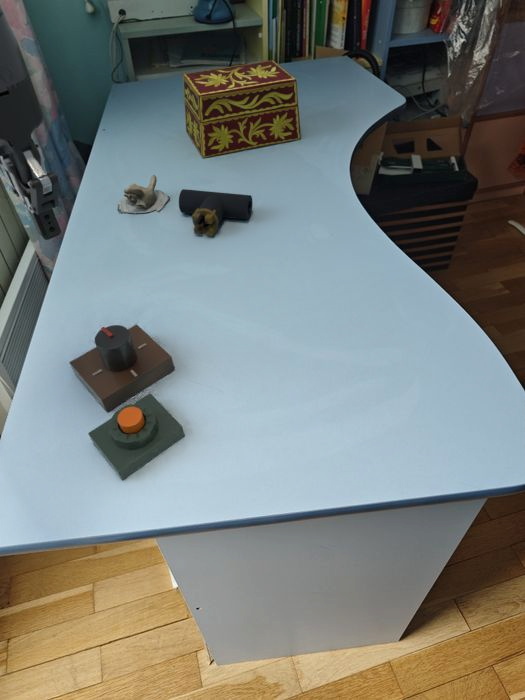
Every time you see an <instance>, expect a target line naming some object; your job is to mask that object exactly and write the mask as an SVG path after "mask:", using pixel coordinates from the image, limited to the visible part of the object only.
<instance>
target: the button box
mask: <svg viewBox="0 0 525 700" xmlns="http://www.w3.org/2000/svg"><path fill="white" fill-rule="evenodd" d="M127 407H137V408H139V409H140V410H141V411H142V414H143V417H144V420H145V424H144V426H143V428H142V429H141V430H140V431H138V432H136V433H133V434H127V433H125V432H123V431H122V429H121V427H120V425H119V423H118V415H119V413H120V412H121V411H122V410H123V409H125V408H127ZM87 435H88V436H89V438H90V440H91V441H92V444H93V445H94V446H95V447H96V449H97V450H98V451H99V452H100V454H101V455H102V457H104V459H105V461H106V462H107V463H108V464H109V466H110V467H111V468H112V469H113V471H114V472H115V473H116V475H117V476H118V477H119V478H120V480H121V481H124V480H125V479H127V478H128V477H130V476H131V475H132V474H134V473H135V472H137V471H138V470H139V469H141V468H142V467H143V466H145V465H146V464H147V463H149V462H151V461H152V460H153V459H155V458H156V457H157V456H159V455H160V454H161V453H164V451H166V450H167V449H169V448H170V447H171V446H173V445H174V444H175V443H177V442H178V441H180V440H181V439H183V438H184V437H185V436H186V434H185V431H184V428H183V426H182V425H181V423H179V421H178V420H177V419H176V418H175V417H174V416H173V415H172V414H171V412H169V411H168V410H167V408H165V407H164V405H163V404H162V403H160V402H159V400H158V399H157V398H156V397H155V396H154V395H153V394H152V393H150V392H149V393H148V394H147V395H145V396H144V397H142V398H141V399H140V398H139V400H137V401H136V402H135V403H132V404H127V405H124V406H123V407H121V408H119V409H118V410H117V411H115V412H114V413H113V415H112V417H111V418H109V419H108V420H106V421H105V422H103V423H102V424H100V425H98V426H97V427H95V428H94V429H92V430H91V431H89V432H88V434H87Z"/></svg>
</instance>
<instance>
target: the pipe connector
mask: <svg viewBox="0 0 525 700" xmlns="http://www.w3.org/2000/svg"><path fill="white" fill-rule="evenodd" d="M253 205H254V204H253V197H252V195H251V194H249V195H248V194H240V193H230V192H219V191H208V190H196V189H184V188H182V189H181V190H180V192H179V196H178V208H179V211H180V213H182V214H188V215H192V216H191V219H192V224H193V234H194V235H202V233H203V234H206V236H210V237H213V236H214V235H215V233H216V232H217V230H218V227H219V224H220V222H221V221H222V218H227V219H239V220H248V221H249V220H250V219H251V217H252V213H253Z"/></svg>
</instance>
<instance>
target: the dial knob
mask: <svg viewBox="0 0 525 700" xmlns="http://www.w3.org/2000/svg"><path fill="white" fill-rule="evenodd" d="M128 329H129V328H127V327H125V326H124V325H121V324H113V325H112V324H111V325H108V326H102V327H101V328H100V330H99V331H98V332H97V333H96V334H95V336H94V344H95V348H96V347H97V349H98V352H99V354H100V356H101V359H102V361H103V364H104V366H105V367H106V368H107V369H108V370H110V371H115V372H118V371H123V370H126V369H128V368H130V367H131V366H132V365H133V364H134V363H135V361H136V359H137V354H136V351H135V348H134V345H133V342H132V339H131V336H130V333H129V330H128Z"/></svg>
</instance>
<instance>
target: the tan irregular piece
mask: <svg viewBox="0 0 525 700" xmlns="http://www.w3.org/2000/svg"><path fill="white" fill-rule="evenodd" d="M157 182H158V181H157V176H156V175H155V174H153V175H151V178H150V181H149V184H148V186H147V187H144V186H142V185H138V184H137V183H131V184H130V185H129V186H128V187H127V188H124V190H123V193H124V194H123V198H122V199H121V200H120V202H119V204H117V211H118V212H119V213H122V214H124V213H129V214H144V213H149V212H154V211H156V212H160V211H161V210H162V209H163V207H165V204H166V203H167V202H169V200H171V199H170V196H169V195H167V194H165V193H164V192H163V191H162V190H161V189H156V186H157Z"/></svg>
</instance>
